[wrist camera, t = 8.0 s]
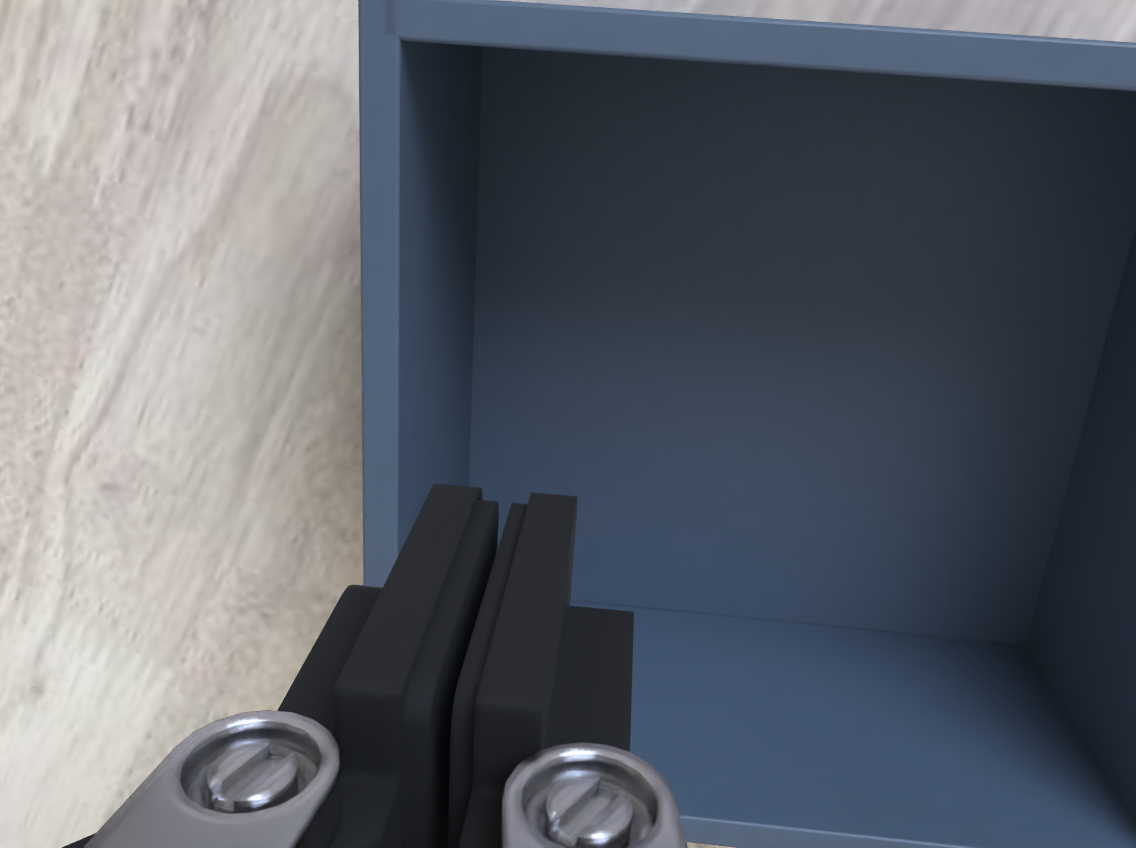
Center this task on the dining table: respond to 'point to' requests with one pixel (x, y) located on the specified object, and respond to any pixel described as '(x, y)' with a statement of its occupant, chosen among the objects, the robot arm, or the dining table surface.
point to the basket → (783, 390)
